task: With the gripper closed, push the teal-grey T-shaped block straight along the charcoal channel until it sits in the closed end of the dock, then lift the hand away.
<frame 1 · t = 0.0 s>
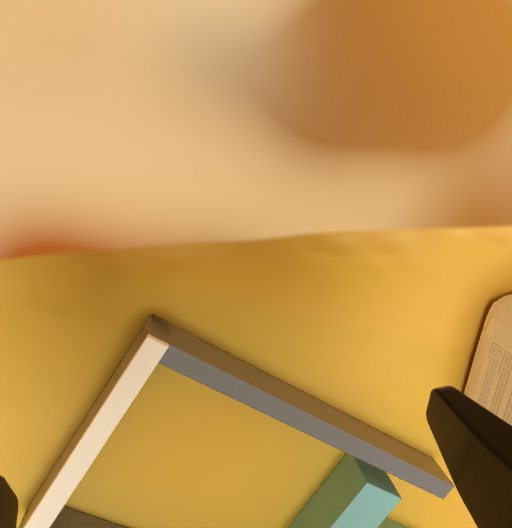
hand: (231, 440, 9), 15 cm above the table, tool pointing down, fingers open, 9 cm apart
photo printer: (492, 360, 29), on the table
dock: (186, 458, 27), on the table
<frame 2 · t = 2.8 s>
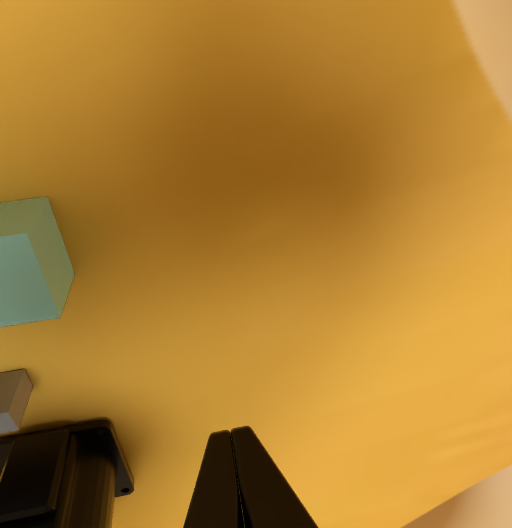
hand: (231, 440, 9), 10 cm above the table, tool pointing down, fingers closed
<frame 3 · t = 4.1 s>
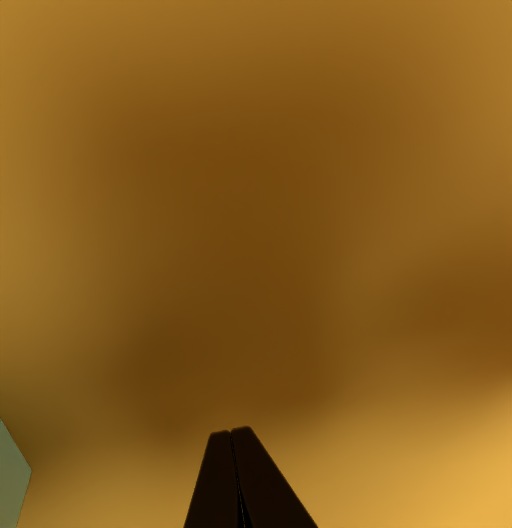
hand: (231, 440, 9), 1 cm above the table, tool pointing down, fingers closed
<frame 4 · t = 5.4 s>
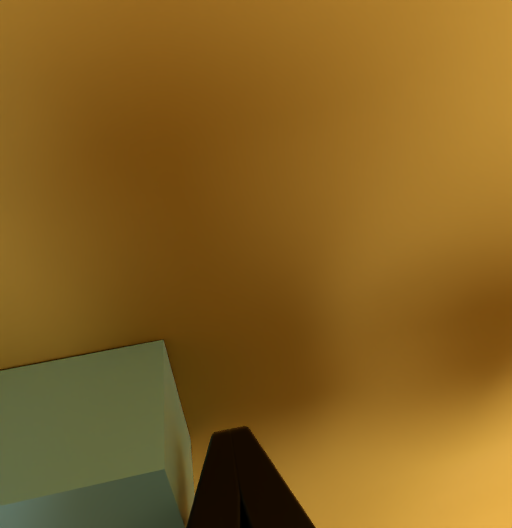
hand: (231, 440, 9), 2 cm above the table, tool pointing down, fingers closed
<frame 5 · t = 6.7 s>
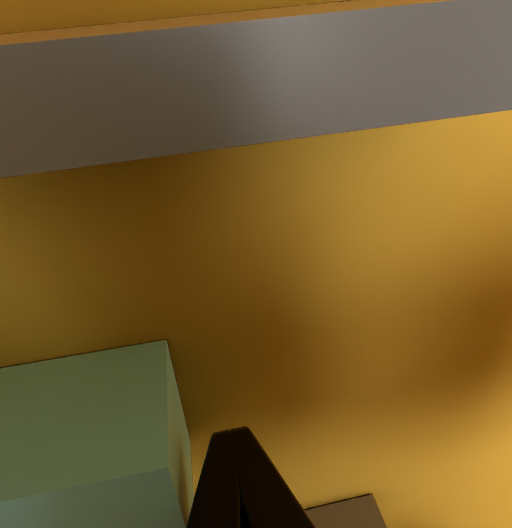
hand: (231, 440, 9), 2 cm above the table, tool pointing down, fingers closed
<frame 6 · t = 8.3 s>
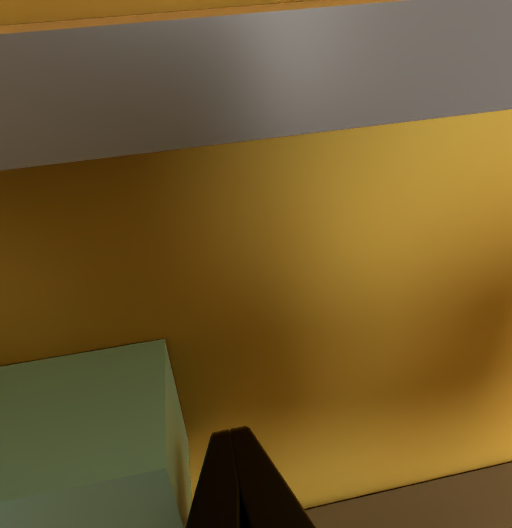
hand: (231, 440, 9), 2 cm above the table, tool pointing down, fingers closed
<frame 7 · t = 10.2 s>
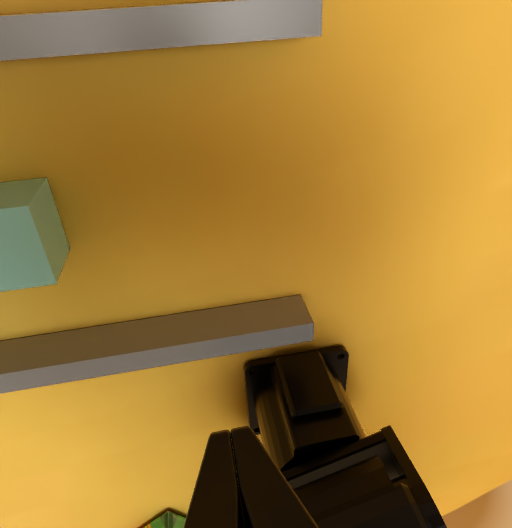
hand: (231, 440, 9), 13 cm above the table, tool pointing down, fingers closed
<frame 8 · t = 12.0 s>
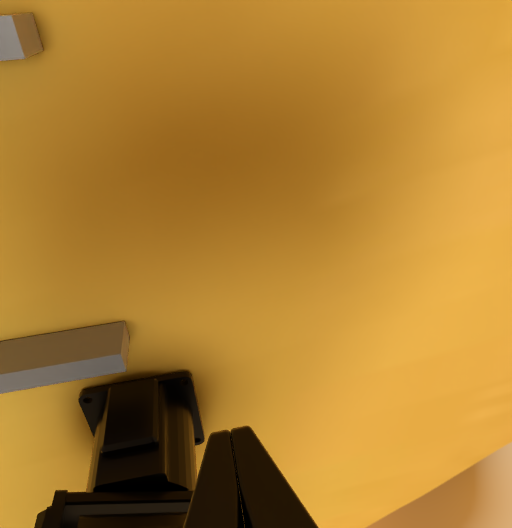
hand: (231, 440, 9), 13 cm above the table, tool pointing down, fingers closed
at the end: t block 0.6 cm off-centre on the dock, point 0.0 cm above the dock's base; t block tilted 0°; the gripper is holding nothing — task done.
